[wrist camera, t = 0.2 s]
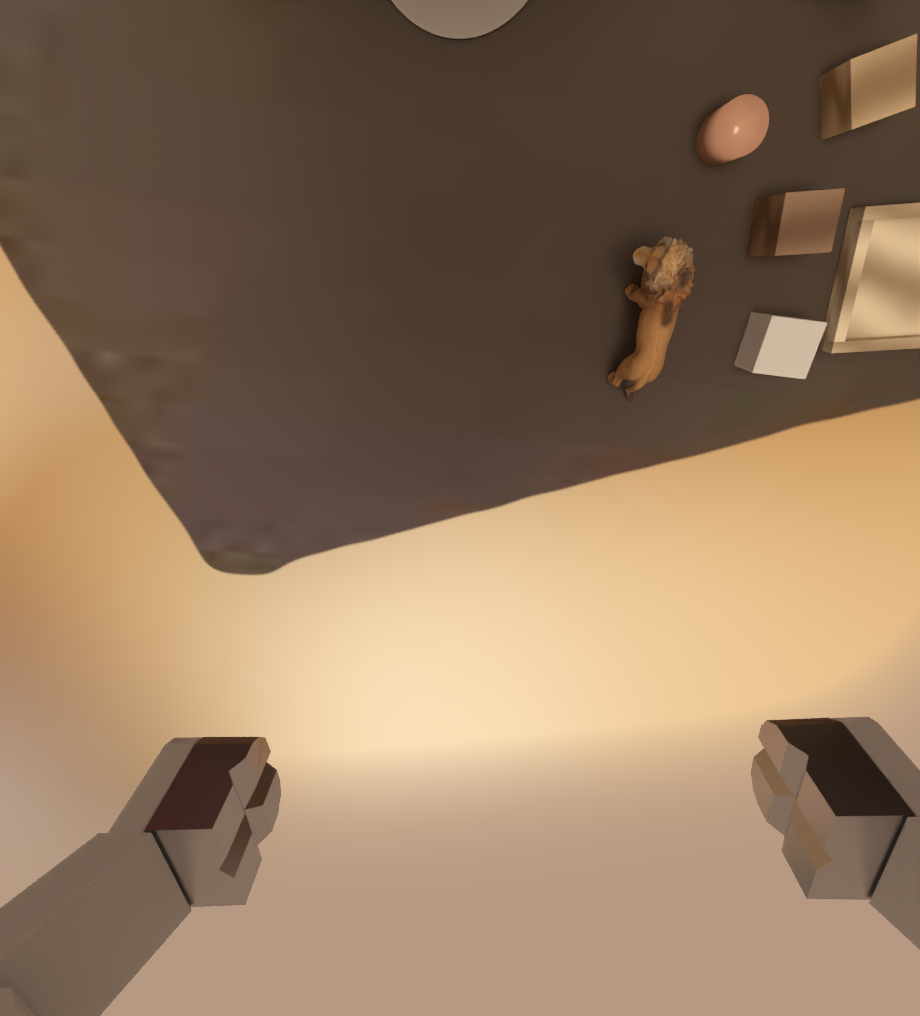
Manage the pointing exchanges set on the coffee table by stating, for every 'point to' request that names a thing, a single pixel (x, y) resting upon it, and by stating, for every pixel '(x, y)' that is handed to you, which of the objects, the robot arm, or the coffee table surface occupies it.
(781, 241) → the walnut block
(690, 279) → the lion figurine
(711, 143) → the pinkish tan rounded lump
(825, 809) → the robot arm
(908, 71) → the oak block
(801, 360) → the white plastic block
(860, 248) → the birch tray
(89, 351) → the coffee table surface
